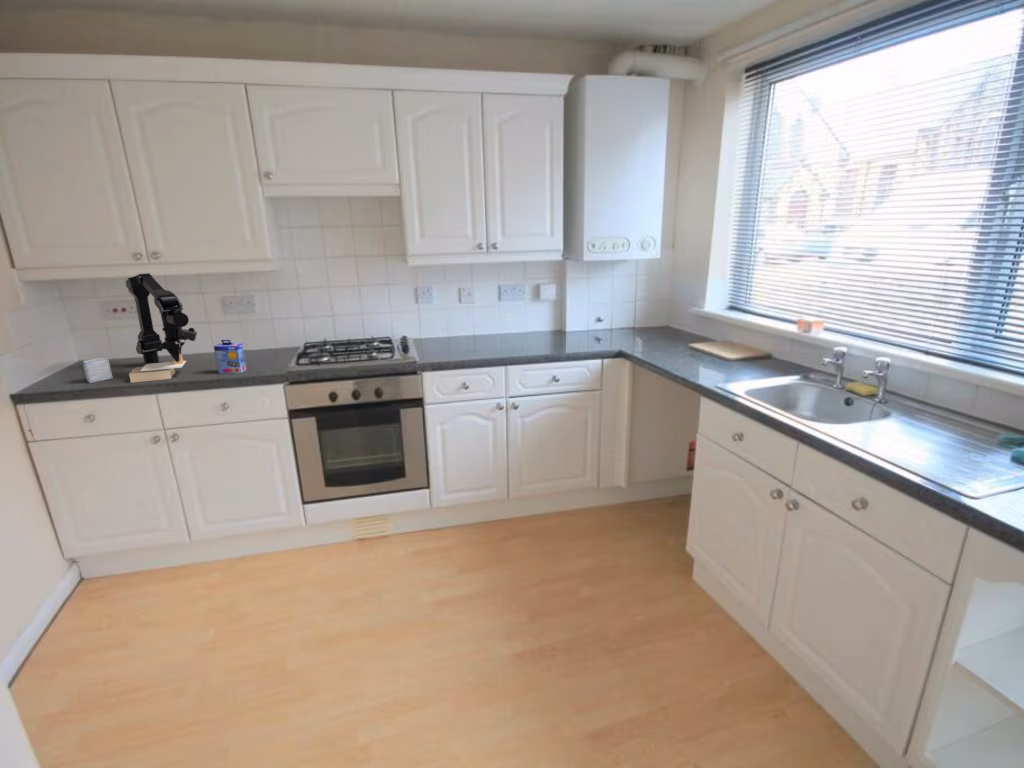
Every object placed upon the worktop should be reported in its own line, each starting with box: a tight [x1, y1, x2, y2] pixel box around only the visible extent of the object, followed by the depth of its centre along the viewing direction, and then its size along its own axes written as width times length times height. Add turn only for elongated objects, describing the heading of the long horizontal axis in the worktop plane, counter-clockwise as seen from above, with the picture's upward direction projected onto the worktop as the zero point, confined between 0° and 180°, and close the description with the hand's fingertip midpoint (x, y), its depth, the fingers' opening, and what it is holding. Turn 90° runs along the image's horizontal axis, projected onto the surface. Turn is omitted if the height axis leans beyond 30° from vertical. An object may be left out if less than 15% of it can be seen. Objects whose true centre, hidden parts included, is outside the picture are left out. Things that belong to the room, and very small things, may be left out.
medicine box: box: [81, 357, 113, 384], centre depth 221 cm, size 8×4×9 cm, turn 141°
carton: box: [128, 366, 176, 384], centre depth 224 cm, size 10×14×4 cm
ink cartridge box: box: [213, 339, 247, 374], centre depth 229 cm, size 10×6×14 cm, turn 93°
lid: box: [141, 352, 187, 371], centre depth 224 cm, size 10×14×5 cm
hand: (178, 361), depth 226 cm, fingers closed on lid, 2 cm apart
